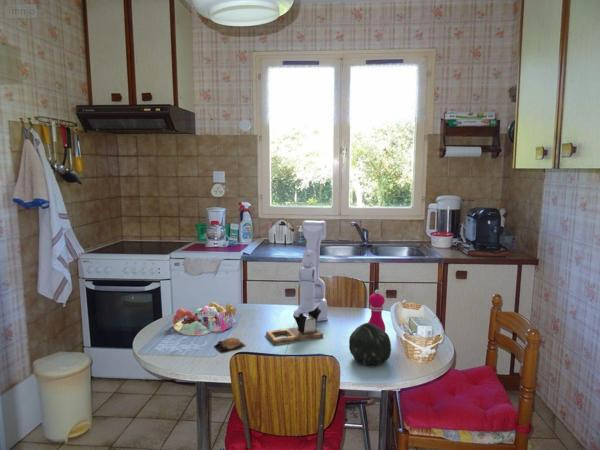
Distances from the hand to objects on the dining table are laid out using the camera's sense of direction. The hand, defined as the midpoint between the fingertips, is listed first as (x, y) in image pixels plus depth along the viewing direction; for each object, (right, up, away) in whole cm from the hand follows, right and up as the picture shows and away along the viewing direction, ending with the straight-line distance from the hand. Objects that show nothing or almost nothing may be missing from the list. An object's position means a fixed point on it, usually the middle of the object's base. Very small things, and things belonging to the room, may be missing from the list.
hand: (307, 329), depth 174 cm
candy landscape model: (-43, -1, +11) cm, 45 cm away
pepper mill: (+27, -3, -4) cm, 27 cm away
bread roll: (-29, -4, -11) cm, 32 cm away
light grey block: (0, -2, 0) cm, 2 cm away
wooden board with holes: (-5, -2, -2) cm, 6 cm away
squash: (+22, -6, -23) cm, 32 cm away
